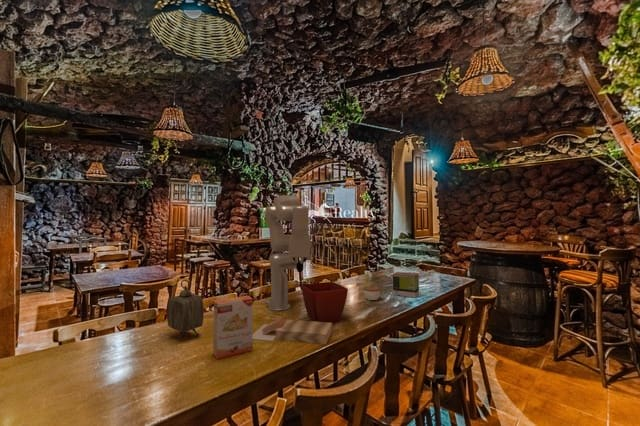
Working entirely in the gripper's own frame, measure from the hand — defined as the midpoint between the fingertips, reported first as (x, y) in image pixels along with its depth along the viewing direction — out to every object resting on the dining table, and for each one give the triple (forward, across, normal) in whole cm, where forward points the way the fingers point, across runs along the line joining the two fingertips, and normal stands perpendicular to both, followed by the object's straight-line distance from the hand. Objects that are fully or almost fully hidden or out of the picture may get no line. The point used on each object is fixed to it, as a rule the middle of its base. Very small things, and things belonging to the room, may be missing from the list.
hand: (299, 271), depth 140 cm
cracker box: (+27, -18, -29) cm, 43 cm away
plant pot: (+28, +8, +17) cm, 34 cm away
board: (+27, +4, -6) cm, 28 cm away
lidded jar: (+29, +30, +58) cm, 72 cm away
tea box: (+29, +52, +74) cm, 95 cm away
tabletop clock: (+28, -47, -19) cm, 58 cm away
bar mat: (+27, -13, -6) cm, 31 cm away
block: (+25, -9, -7) cm, 27 cm away
